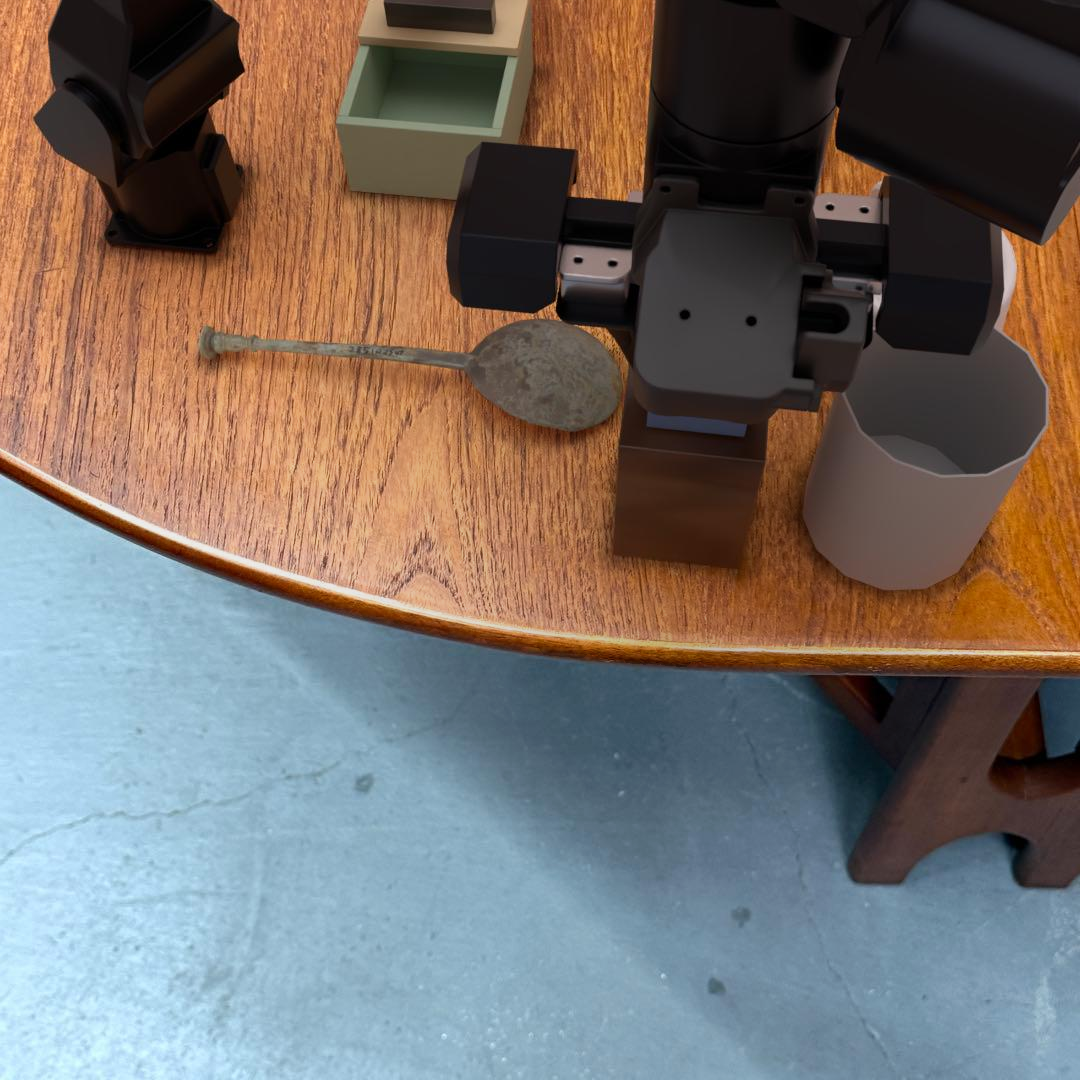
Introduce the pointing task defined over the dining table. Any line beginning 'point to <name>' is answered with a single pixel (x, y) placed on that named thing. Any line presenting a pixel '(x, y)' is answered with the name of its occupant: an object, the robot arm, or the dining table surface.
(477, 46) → the lid
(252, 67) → the dining table surface
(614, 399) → the soupspoon
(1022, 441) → the cup
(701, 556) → the stand
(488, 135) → the box
